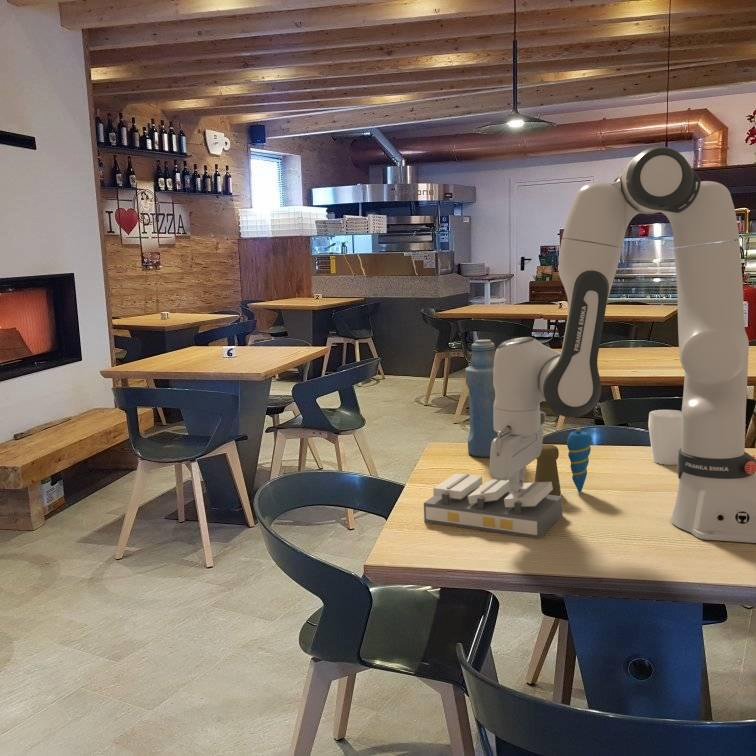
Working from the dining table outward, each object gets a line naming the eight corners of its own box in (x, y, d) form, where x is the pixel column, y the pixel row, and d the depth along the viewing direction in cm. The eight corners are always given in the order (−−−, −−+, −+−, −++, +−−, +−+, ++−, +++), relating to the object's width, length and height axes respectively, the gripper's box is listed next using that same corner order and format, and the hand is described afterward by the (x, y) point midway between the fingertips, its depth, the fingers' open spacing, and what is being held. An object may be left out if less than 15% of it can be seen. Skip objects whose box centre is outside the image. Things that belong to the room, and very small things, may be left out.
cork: (541, 488, 178) (540, 440, 177) (566, 492, 175) (565, 443, 173) (527, 495, 174) (527, 446, 172) (553, 500, 170) (552, 450, 168)
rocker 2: (553, 489, 159) (551, 479, 159) (534, 506, 150) (532, 496, 149) (524, 490, 162) (523, 481, 162) (504, 507, 153) (503, 497, 152)
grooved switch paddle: (482, 483, 167) (482, 474, 166) (460, 499, 157) (460, 490, 157) (456, 480, 170) (456, 471, 169) (433, 496, 160) (432, 486, 160)
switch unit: (562, 515, 161) (562, 485, 160) (539, 539, 148) (539, 507, 147) (453, 501, 172) (452, 473, 171) (423, 522, 160) (422, 492, 159)
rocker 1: (517, 483, 163) (514, 474, 163) (496, 500, 153) (494, 490, 153) (490, 487, 166) (488, 479, 166) (469, 504, 156) (466, 494, 156)
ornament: (595, 491, 175) (595, 424, 172) (584, 497, 171) (584, 428, 169) (574, 486, 178) (574, 421, 176) (562, 492, 175) (562, 426, 172)
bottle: (507, 457, 205) (505, 341, 200) (469, 459, 205) (466, 343, 200) (502, 448, 214) (500, 337, 209) (465, 449, 214) (462, 338, 210)
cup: (690, 458, 196) (691, 411, 194) (682, 468, 189) (683, 418, 187) (653, 455, 201) (653, 408, 199) (643, 464, 194) (644, 415, 192)
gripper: (513, 434, 144) (513, 508, 147) (548, 412, 162) (548, 478, 164) (480, 431, 147) (481, 503, 150) (518, 409, 165) (518, 474, 167)
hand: (516, 489), depth 157 cm, fingers closed, pressing on rocker 2
